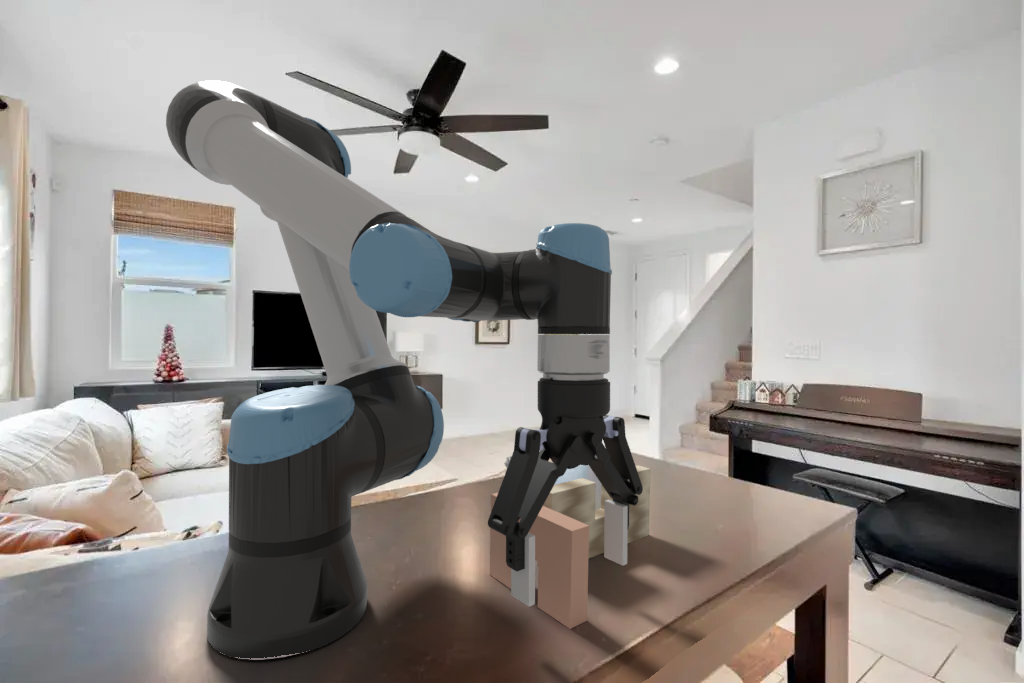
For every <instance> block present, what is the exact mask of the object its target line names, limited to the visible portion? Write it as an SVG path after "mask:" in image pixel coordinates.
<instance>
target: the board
mask: <svg viewBox="0 0 1024 683" xmlns="http://www.w3.org/2000/svg"><path fill="white" fill-rule="evenodd" d="M635 466H636V469H637V472H638V475H639V478H640V481H641V484H642V487H643V491H642V493H641V494H640V495H637V494H635V495H636V496H638V503H637V504H636V505H635V506H634V505H631V504H629V528H628V530H627V545H628V544H629V543H632V542H635V541H638V540H640V539H642V538H646V537H648V536H650V516H651V515H650V514H651V513H650V511H651V510H650V508H651V507H650V505H651V475H652V474H651V473H652V472H651V468H649V467H646V466H641V465H638V464H635ZM628 481H629V479H628ZM596 486H597V483H596V481H592V480H590V479H586V478H583V477H582V478H577V479H572V480H568V481H564V482H560V483H555V484H554V486H553V488H552V490H551V492H550V494H549V495H548V497H547V499H546V501H545V503H544V505H543V506H545V507H547V508H549V509H552V510H554V511H556V512H559V513H561V514H563V515H566V516H568V517H570V518H573V519H575V520H577V521H580V522H582V523H584V524H587V525H589V556H588V560H589V559H591V558H593V557H596V556H599V555H602V554H604V502H605V501H606V500H612V501H613V499H612V498H611V497H610V496H609V494H608V493H607V491H606V490H605V488H604V487H603V486H602V484H601V490H600V491H601V495H600V508H597V509H596V498H597V497H596V496H597V495H596V494H597V491H596V490H597V489H596V488H597V487H596ZM536 564H537V565H536V566H537V567H538V561H536Z"/></svg>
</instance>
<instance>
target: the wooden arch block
mask: <svg viewBox="0 0 1024 683" xmlns="http://www.w3.org/2000/svg"><path fill="white" fill-rule="evenodd" d="M497 495H498V492H495V493H491V494H490V512H491V511H492V509H493V506H494V503H495V500H496V498H497ZM520 520H521V518H520V519H519V521H518V522H520ZM489 528H490V527H489ZM489 532H490V533H489V534H490V535H489V536H490V538H489V540H490V541H489V544H490V547H489V549H490V550H489V556H490V557H489V575H490V576H491V577H493V578H495V580H498V582H499V583H501V584H503V585H504V586H506V587H508V589H510V590H511V568H510V567H508V566H507V563H506V536H505V535H503V534H501V533H499V532H497V531H495V530H494V529H492V528H490V531H489ZM528 533H530V534H532V535H534V536H535V562H537V561H538V566H537V567H538V569H537V570H538V572H537V573H538V574H537V608H538V609H540V610H541V611H542V612H544V613H546V614H547V615H549V616H550V617H551V618H553V619H555V620H556V621H558V622H559V623H561V624H562V625H563V626H565V627H566V628H568V629H570V630H571V629H573V628H575V627H577V626H579V625H581V624H583V623H585V622H588V604H589V603H588V600H589V599H588V598H589V595H588V593H589V559H588V556H589V525H587V524H584V523H582V522H580V521H577V520H575V519H573V518H570V517H568V516H566V515H563V514H561V513H559V512H556V511H554V510H552V509H549V508H547V507H545V506H542V508H541V510H540V512H539V514H538V516H537V518H536V519H535V521H534V523H533V525H532V527H531V529H530V530H529V532H528Z"/></svg>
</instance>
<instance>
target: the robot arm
mask: <svg viewBox="0 0 1024 683" xmlns="http://www.w3.org/2000/svg"><path fill="white" fill-rule="evenodd" d="M165 127H166V131H167V135H168V138H169V140H170V143H171V145H172V147H173V148H174V150H175V151H176V153H177V154H178V155H179V157H181V158H182V160H183V161H184V162H186V164H188V165H189V166H190V167H191V168H193V169H194V170H195V171H196V172H198V173H200V174H201V175H202V176H203V177H205V178H207V179H208V180H210V181H211V182H214V183H217V184H220V185H227V186H232V187H233V188H235V190H237V191H239V192H240V193H241V194H243V195H244V196H246V197H247V198H248V199H250V200H251V201H252V202H254V203H255V204H256V205H258V206H259V208H260V211H261V213H262V215H264V216H265V217H267V219H269V220H271V221H274V222H276V223H277V225H278V229H279V232H280V235H281V238H282V241H283V244H284V247H285V248H284V249H285V251H286V254H287V257H288V260H289V263H290V265H291V269H292V272H293V275H294V278H295V282H296V285H297V287H298V290H299V294H300V296H301V300H302V303H303V305H304V309H305V312H306V315H307V318H308V322H309V324H310V328H311V330H312V334H313V336H314V340H315V342H316V346H317V350H318V352H319V355H320V357H321V361H322V364H323V365H322V366H323V368H324V370H325V374H326V376H327V379H326V382H325V383H324V384H313V385H305V386H300V387H294V386H292V387H288V388H287V387H286V388H282V389H281V388H280V389H275V390H272V391H267V392H264V393H261V394H258V395H254V396H252V397H250V398H248V399H246V400H244V401H242V402H241V403H240V404H238V406H237V408H236V409H235V410H234V412H233V413H232V415H231V418H230V419H231V420H230V427H229V428H230V429H229V436H228V443H227V446H226V454H227V456H228V551H227V555H226V558H225V561H224V563H223V567H222V568H221V571H220V574H219V577H218V581H217V584H216V586H215V588H214V592H213V594H212V597H211V600H210V603H209V605H208V609H207V618H206V621H207V622H206V627H207V628H206V639H207V641H209V642H208V644H209V643H210V644H211V645H210V644H209V645H210V647H211V646H213V647H214V648H215V649H216V650H217V651H219V652H221V653H223V654H225V655H227V656H231V657H238V658H239V657H240V658H250V659H251V658H264V657H265V658H267V657H274V656H275V657H277V656H281V655H289V654H295V653H302V652H306V651H309V650H312V651H314V650H313V649H315V650H317V649H316V648H318V649H320V648H322V647H325V646H327V645H329V644H332V643H333V642H334V641H336V640H338V639H340V638H341V637H343V636H344V635H346V634H347V633H348V632H350V631H352V629H354V627H355V626H356V625H357V624H358V623H359V622H360V621H361V620H362V619H363V617H364V615H365V613H366V610H367V606H368V584H367V582H368V581H367V578H366V575H365V571H364V569H363V566H362V562H361V561H360V557H359V555H358V551H357V548H356V545H355V542H354V539H353V537H352V498H353V497H355V496H357V495H360V494H363V493H365V492H367V491H368V492H369V491H371V490H372V489H375V488H378V487H381V486H383V485H386V484H389V483H391V482H394V481H397V480H402V479H404V478H407V477H409V476H411V475H412V474H414V473H415V472H417V471H419V470H420V469H423V468H424V467H426V466H427V465H429V464H430V462H432V460H433V459H434V458H435V457H436V455H437V454H438V451H439V448H440V445H441V443H442V440H443V438H444V431H445V430H444V429H445V423H444V422H445V421H444V414H443V411H442V408H441V405H440V403H439V401H438V400H437V398H436V397H435V396H434V395H433V393H432V392H430V391H428V390H426V389H425V388H424V387H422V386H419V385H415V382H414V379H413V377H412V373H411V372H410V369H409V366H408V364H406V363H405V362H403V361H400V360H398V359H397V358H394V357H393V355H392V352H391V350H390V347H389V344H388V341H387V339H386V335H385V333H384V330H383V327H382V325H381V320H380V318H379V317H378V313H377V312H379V313H387V314H391V315H394V316H396V317H401V318H417V317H425V318H444V319H445V318H447V319H448V320H452V321H462V322H472V323H479V322H481V321H482V322H483V321H513V320H515V321H516V320H517V321H519V320H527V321H531V320H532V321H533V320H534V321H535V320H537V365H536V366H537V371H538V372H539V373H540V374H542V377H540V378H539V380H538V381H537V410H538V412H539V414H540V417H541V424H540V427H539V429H531V428H526V427H523V426H522V427H521V426H520V427H517V429H516V430H515V435H514V445H513V452H512V454H511V456H512V457H511V460H510V462H509V465H508V468H507V467H506V470H507V471H506V470H505V471H506V473H505V474H504V477H503V479H502V482H501V485H500V488H499V490H498V492H497V493H498V495H497V498H496V500H495V503H494V506H493V509H492V511H491V510H490V514H489V516H488V520H487V526H488V528H492V529H494V530H495V531H497V532H499V533H501V534H503V535H505V536H506V563H507V566H508V567H510V568H511V589H510V594H511V596H512V597H514V598H515V599H517V600H518V601H519V602H521V603H523V605H525V606H527V607H528V608H530V607H532V606H534V605H536V560H535V536H534V535H532V534H530V533H528V532H529V530H530V529H531V527H532V525H533V523H534V521H535V519H536V518H537V516H538V514H539V512H540V510H541V508H542V506H543V505H544V503H545V501H546V499H547V497H548V495H549V494H550V492H551V490H552V488H553V486H554V485H555V484H556V483H557V481H558V479H559V478H561V477H563V476H564V474H566V472H567V470H572V469H576V468H577V467H579V466H589V468H590V469H591V471H592V472H593V473H594V475H595V477H596V478H597V479H598V481H599V482H600V484H601V485H602V486H603V487H604V488H605V490H606V491H607V493H608V494H609V496H610V497H611V498H612V499H613V501H612V500H606V501H605V502H604V553H603V554H604V555H603V556H604V558H605V559H607V560H609V561H611V562H614V563H616V564H618V565H620V566H626V565H627V564H628V544H627V530H628V528H629V504H631V505H634V506H635V505H636V504H637V503H638V496H636V495H635V494H637V495H640V494H641V493H642V491H643V487H642V484H641V481H640V478H639V475H638V472H637V469H636V466H635V465H636V463H635V460H634V458H633V454H632V452H631V448H630V446H629V443H628V439H627V437H626V436H627V435H626V426H625V425H626V423H625V419H624V418H623V417H620V416H619V417H618V416H613V415H608V414H609V413H610V411H611V381H609V379H608V378H606V377H604V375H607V374H608V373H609V372H610V370H611V368H610V365H611V364H610V361H611V360H610V357H611V356H610V354H611V353H610V351H611V350H610V348H611V347H610V346H611V345H610V344H611V343H610V342H611V341H610V335H611V326H610V325H611V291H612V290H611V288H612V286H611V283H612V282H611V281H612V274H613V270H612V268H611V252H610V251H611V250H610V249H611V248H610V238H609V235H608V232H606V231H605V229H603V228H602V227H600V226H598V225H594V224H591V223H590V224H589V223H581V222H580V223H579V222H577V223H576V222H575V223H574V222H572V223H571V222H568V223H558V224H557V223H556V224H553V225H552V226H546V227H544V228H542V229H541V230H540V231H539V233H538V235H537V242H536V247H535V249H533V248H532V249H529V250H523V251H508V252H507V251H506V252H505V251H504V252H491V251H487V250H484V249H480V248H477V247H475V246H471V245H467V244H464V243H463V242H462V243H461V242H459V241H458V242H457V241H454V240H452V239H449V238H446V237H444V236H441V235H439V234H437V233H435V232H433V231H432V230H430V229H428V228H427V227H425V226H424V225H422V224H420V223H419V222H417V221H416V220H415V219H412V218H410V217H409V216H407V215H406V214H404V213H403V212H401V211H399V210H398V209H396V208H395V207H394V206H392V205H390V204H388V203H387V202H385V201H384V200H382V199H381V198H379V197H378V196H376V195H374V194H373V193H371V192H369V191H368V190H367V189H365V188H363V187H362V186H361V185H358V184H357V183H355V181H352V180H351V179H349V178H348V177H349V175H351V174H352V164H351V158H350V155H349V153H348V150H347V148H346V146H345V144H344V143H343V141H342V140H341V139H340V137H339V136H338V135H337V134H335V132H333V131H331V130H330V129H329V128H326V127H325V126H324V125H323V124H322V123H320V122H319V121H316V120H314V119H312V118H309V117H305V116H302V115H301V114H299V113H296V112H294V111H292V110H290V109H288V108H286V107H284V106H282V105H280V104H278V103H276V102H273V101H272V100H269V99H267V98H265V97H263V96H261V95H259V94H258V93H257V94H256V93H255V92H253V91H251V90H249V89H247V88H245V87H242V86H239V85H236V84H234V83H232V82H227V81H221V80H205V81H203V80H202V81H198V82H197V81H195V82H194V83H192V84H189V85H187V86H186V87H184V88H182V89H180V90H179V91H178V92H177V93H176V95H174V96H173V98H172V100H171V101H170V103H169V105H168V107H167V111H166V118H165ZM549 460H551V461H549ZM628 479H629V481H628ZM520 518H521V520H520V522H518V521H519V519H520ZM328 643H329V644H328ZM321 646H322V647H321ZM216 650H215V651H216ZM217 651H216V652H217ZM219 652H218V653H219ZM225 655H224V656H225ZM227 656H226V657H227ZM231 657H230V658H231Z"/></svg>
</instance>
